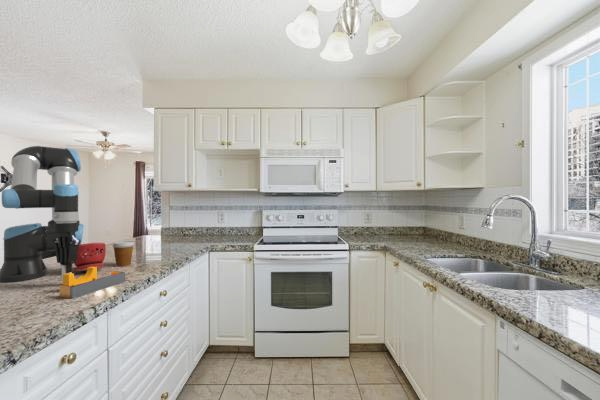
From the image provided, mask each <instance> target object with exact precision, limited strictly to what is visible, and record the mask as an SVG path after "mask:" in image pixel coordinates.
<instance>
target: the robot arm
mask: <svg viewBox="0 0 600 400" xmlns="http://www.w3.org/2000/svg"><path fill="white" fill-rule="evenodd" d="M10 163H11V167H12V168H13V171H12V177H11V185H10V188H5V189H3V190H2V191H1V206H2V207H3V208H4V209H17V210H18V209H38V208H39V209H41V208H42V209H44V208H49V209H51V219H50V220H49V221H48V222H47V225H43V224H42V223H40V222H38V223H37V222H36V223H28V224H20V225H15V226H9V227H7V228H5V230H4V233H3V238H2V240H3V264H2V265H1V268H0V283H12V282H22V281H29V280H33V279H38V278H41V277H43V276H47V274H48V273H47V272H48V268H47V266H46V265H45V263H44V260H43V258H42V253H43V252H53V251H55V258H56V262H57V263H58V264H60V266H61V282H63V274H67V273H73V264H74V263H76V260H77V254H78V248H79V245H80V244H82V242H83V241H82V240H83V234H84V226H85V225H84V224H82V223H80V219H79V194H80V193H79V186H78V185H76V184H75V176H77V175H78V172H79V173H80V171H81V170H82V168H81V166H82V165H81V159H80V155H79V153H78V151H77V150H75V149H71V148H65V147H64V148H61V147H51V146H41V145H35V146H34V145H33V146H32V145H31V146H29V147H25V148H23V149H20V150H18V151H17V152H16V153H14V155H13V156H12V158H11V162H10ZM39 170H42V171H43V170H44V171H47V174H48V175H49V176H51V189H37V187H38V185H37V184H38V182H37V181H38V171H39Z"/></svg>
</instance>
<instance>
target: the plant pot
mask: <svg viewBox="0 0 600 400" xmlns="http://www.w3.org/2000/svg"><path fill="white" fill-rule="evenodd" d="M106 249H107V248H106V244H105V242H90V243H89V242H88V243H81V244H80V245H79V248H78V254H77V260H76V263H73V264H74V266H75V267H74V268H73V270H74V271H75V272H78V273H80V272H87V268H88V267H97V270H98V269H102V268H103V267H105V263H104V260H105V257H106V251H107V250H106Z"/></svg>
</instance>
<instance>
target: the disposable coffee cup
mask: <svg viewBox="0 0 600 400" xmlns="http://www.w3.org/2000/svg"><path fill="white" fill-rule="evenodd" d="M134 246H135V243H134V240H133V241H132V240H122V241H121V240H120V241H115V242H113V243H112V248H113V252H114V258H115V265H116V267H118V268H119V267H128V266H130V265H131V264H132V258H133V257H132V256H133V252H134V251H133V249H134Z"/></svg>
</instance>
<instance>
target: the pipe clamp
mask: <svg viewBox="0 0 600 400" xmlns="http://www.w3.org/2000/svg"><path fill="white" fill-rule="evenodd" d="M85 272H86V273H85V274H84V275H80V276H79V277H78V278H76V277H75V273H73V272H72V273H67V274H63V281H62V285H70V286H75V285H78V284H82V283H86V282H89V281H93V280H96V279H98V269H97V267H88V268H87V271H85Z"/></svg>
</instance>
